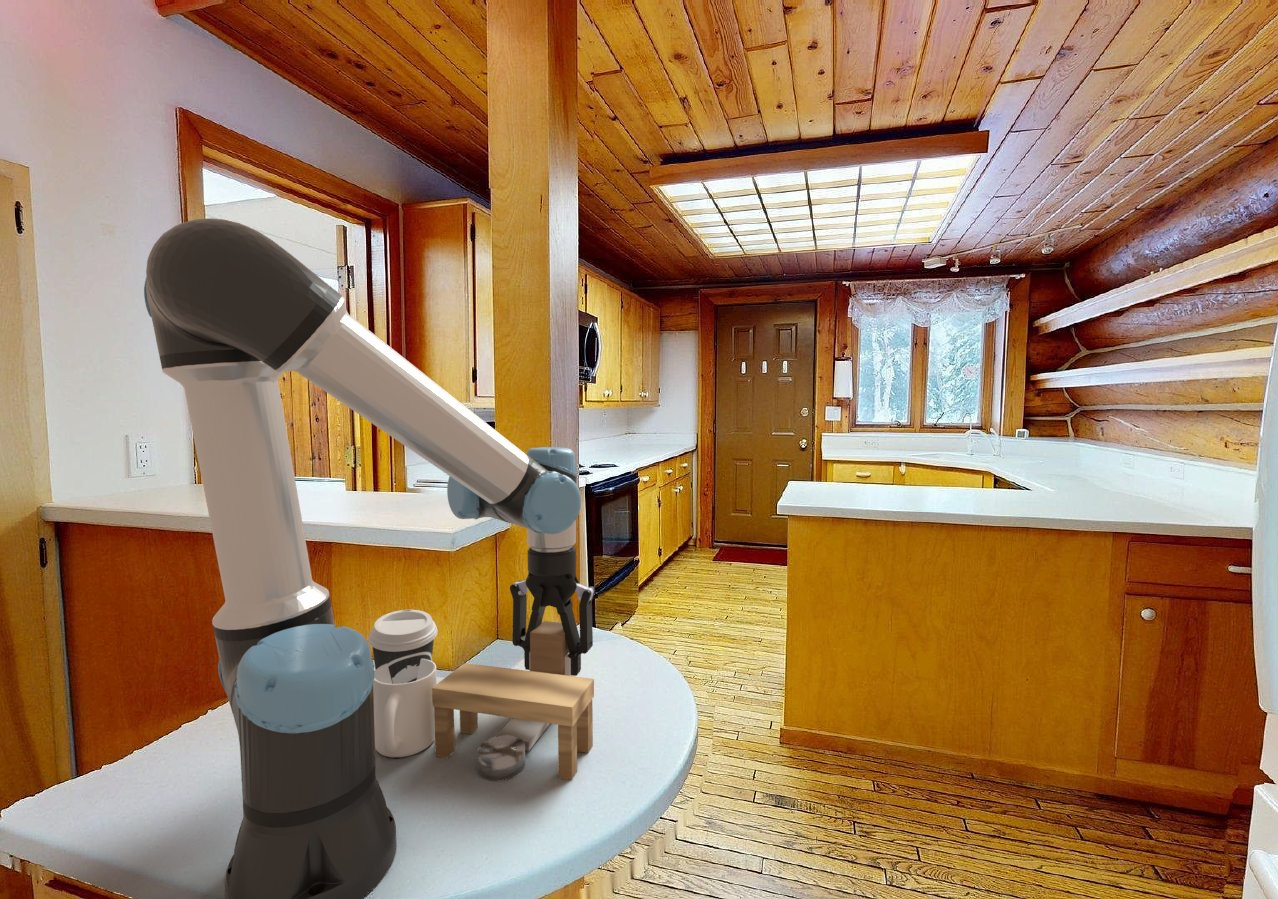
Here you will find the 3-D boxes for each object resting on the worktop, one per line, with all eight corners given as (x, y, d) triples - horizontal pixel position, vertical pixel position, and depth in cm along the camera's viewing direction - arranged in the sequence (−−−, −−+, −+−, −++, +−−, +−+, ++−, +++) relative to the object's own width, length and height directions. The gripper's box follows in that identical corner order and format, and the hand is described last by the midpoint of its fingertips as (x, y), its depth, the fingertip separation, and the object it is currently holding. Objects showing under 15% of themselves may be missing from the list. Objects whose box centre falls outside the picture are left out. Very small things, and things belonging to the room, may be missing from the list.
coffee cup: (448, 698, 94) (448, 611, 91) (418, 738, 84) (417, 641, 81) (392, 691, 95) (390, 604, 92) (356, 728, 85) (353, 633, 83)
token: (511, 784, 73) (511, 765, 73) (468, 776, 75) (468, 757, 74) (533, 757, 79) (532, 739, 79) (493, 750, 80) (492, 732, 80)
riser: (573, 780, 74) (572, 707, 73) (433, 756, 79) (431, 688, 78) (594, 745, 81) (593, 678, 81) (466, 725, 87) (464, 663, 86)
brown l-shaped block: (529, 750, 79) (529, 667, 78) (494, 745, 80) (493, 662, 79) (574, 693, 95) (573, 624, 94) (544, 689, 96) (543, 620, 95)
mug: (419, 776, 75) (418, 698, 74) (352, 778, 74) (350, 699, 73) (443, 725, 87) (443, 657, 86) (386, 726, 86) (384, 658, 85)
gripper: (615, 544, 93) (614, 687, 94) (509, 538, 97) (511, 674, 99) (599, 556, 86) (600, 710, 87) (487, 548, 90) (488, 695, 92)
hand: (552, 691), depth 93 cm, fingers closed on brown l-shaped block, 5 cm apart
